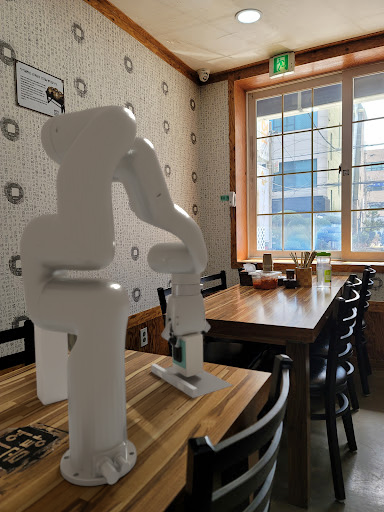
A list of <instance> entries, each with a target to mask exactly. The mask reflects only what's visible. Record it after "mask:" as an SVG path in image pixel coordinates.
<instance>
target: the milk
mask: <svg viewBox="0 0 384 512" xmlns="http://www.w3.org/2000/svg"><path fill="white" fill-rule="evenodd" d="M33 327H34V348H35V349H34V351H35V353H34V354H35V371H36V374H35V375H36V376H35V377H36V395H37V398H38V399H39V401H40V402H41V403H42V405H44V406H46V405H47V406H48V405H50V404H53V403H58V402H62V401H65V400H68V393H67V360H68V356H69V349H68V339H67V333H61V332H53V331H47V330H43V329H41V328H39V327H37V326H36V325H35V324H34V323H33Z"/></svg>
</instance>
